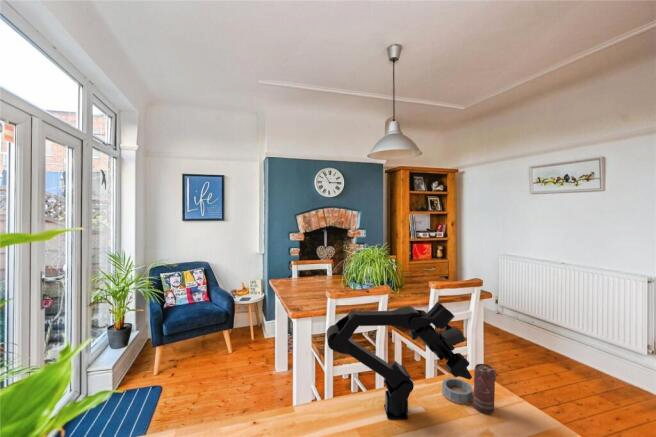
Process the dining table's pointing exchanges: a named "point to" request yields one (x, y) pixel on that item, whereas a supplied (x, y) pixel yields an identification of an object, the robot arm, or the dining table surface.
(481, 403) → the can
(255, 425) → the dining table surface
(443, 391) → the segmented gray ring
